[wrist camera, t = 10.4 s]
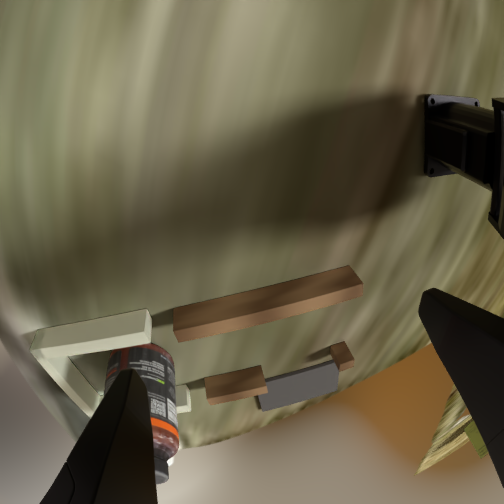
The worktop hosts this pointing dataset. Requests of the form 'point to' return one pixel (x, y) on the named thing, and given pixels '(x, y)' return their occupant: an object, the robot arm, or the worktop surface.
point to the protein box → (476, 439)
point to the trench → (263, 311)
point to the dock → (88, 341)
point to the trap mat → (300, 385)
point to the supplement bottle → (153, 396)
